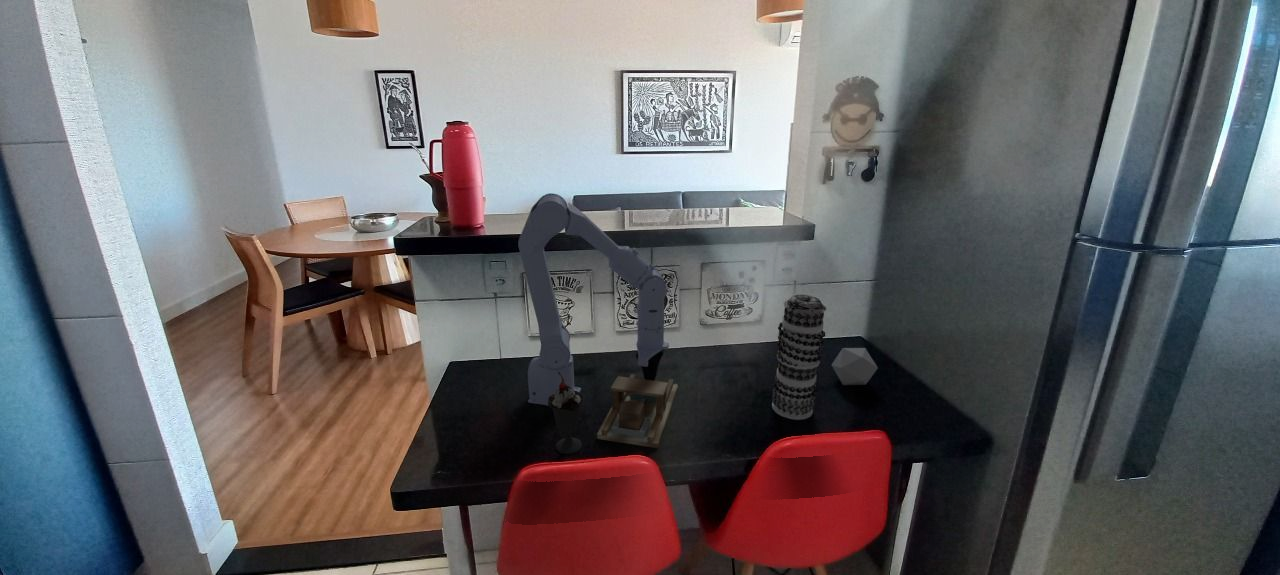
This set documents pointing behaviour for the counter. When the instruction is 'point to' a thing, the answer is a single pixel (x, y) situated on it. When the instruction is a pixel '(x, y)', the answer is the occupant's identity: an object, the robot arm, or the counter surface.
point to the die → (854, 366)
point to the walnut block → (631, 415)
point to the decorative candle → (798, 356)
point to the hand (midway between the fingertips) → (650, 380)
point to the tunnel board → (651, 409)
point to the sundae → (566, 416)
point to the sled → (645, 423)
